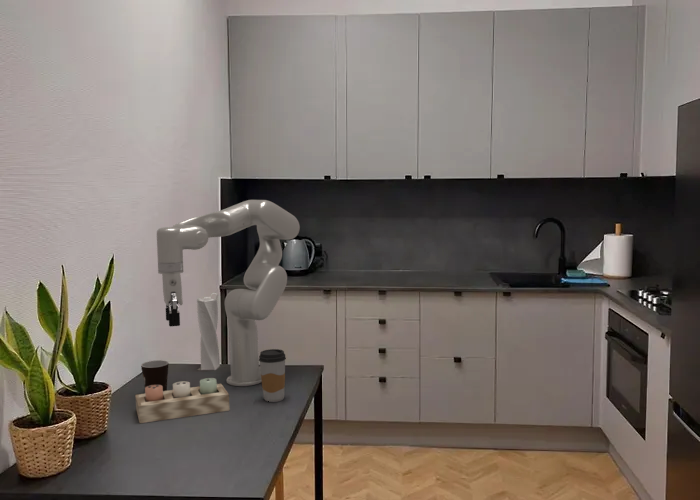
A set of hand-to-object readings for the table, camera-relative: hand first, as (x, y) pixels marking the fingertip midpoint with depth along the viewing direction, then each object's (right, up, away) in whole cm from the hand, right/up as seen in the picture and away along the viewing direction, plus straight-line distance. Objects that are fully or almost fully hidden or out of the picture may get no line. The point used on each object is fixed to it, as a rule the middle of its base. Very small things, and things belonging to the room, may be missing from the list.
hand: (172, 323), depth 227 cm
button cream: (+4, -23, -5) cm, 24 cm away
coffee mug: (-8, -24, +14) cm, 29 cm away
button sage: (+12, -22, -3) cm, 25 cm away
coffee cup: (+31, -24, +4) cm, 39 cm away
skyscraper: (+4, -21, +42) cm, 47 cm away
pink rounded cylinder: (-3, -23, -8) cm, 25 cm away
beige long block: (+4, -26, -5) cm, 27 cm away
